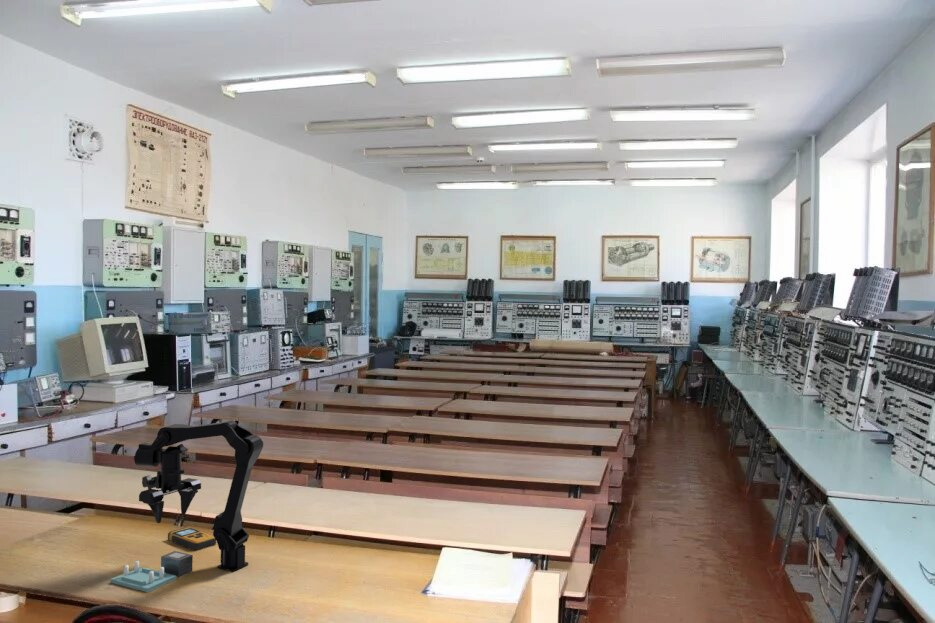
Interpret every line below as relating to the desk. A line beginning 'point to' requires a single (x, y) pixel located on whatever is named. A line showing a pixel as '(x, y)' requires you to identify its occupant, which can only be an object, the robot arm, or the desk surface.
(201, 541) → the electronic device
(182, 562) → the block
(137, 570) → the teal fixture plate
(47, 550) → the desk surface
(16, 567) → the desk surface
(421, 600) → the desk surface
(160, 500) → the robot arm
